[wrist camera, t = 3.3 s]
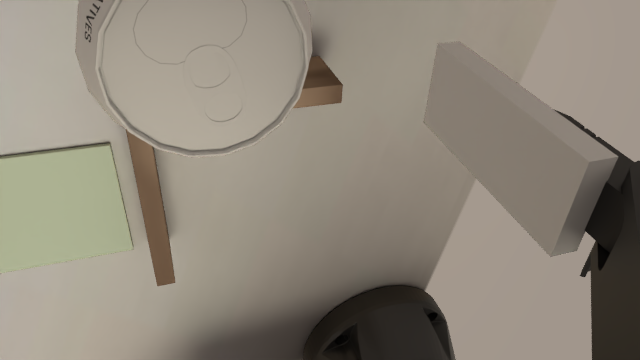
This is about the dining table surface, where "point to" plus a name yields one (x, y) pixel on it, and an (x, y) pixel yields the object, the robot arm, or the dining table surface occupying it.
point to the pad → (60, 207)
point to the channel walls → (315, 91)
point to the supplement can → (195, 68)
